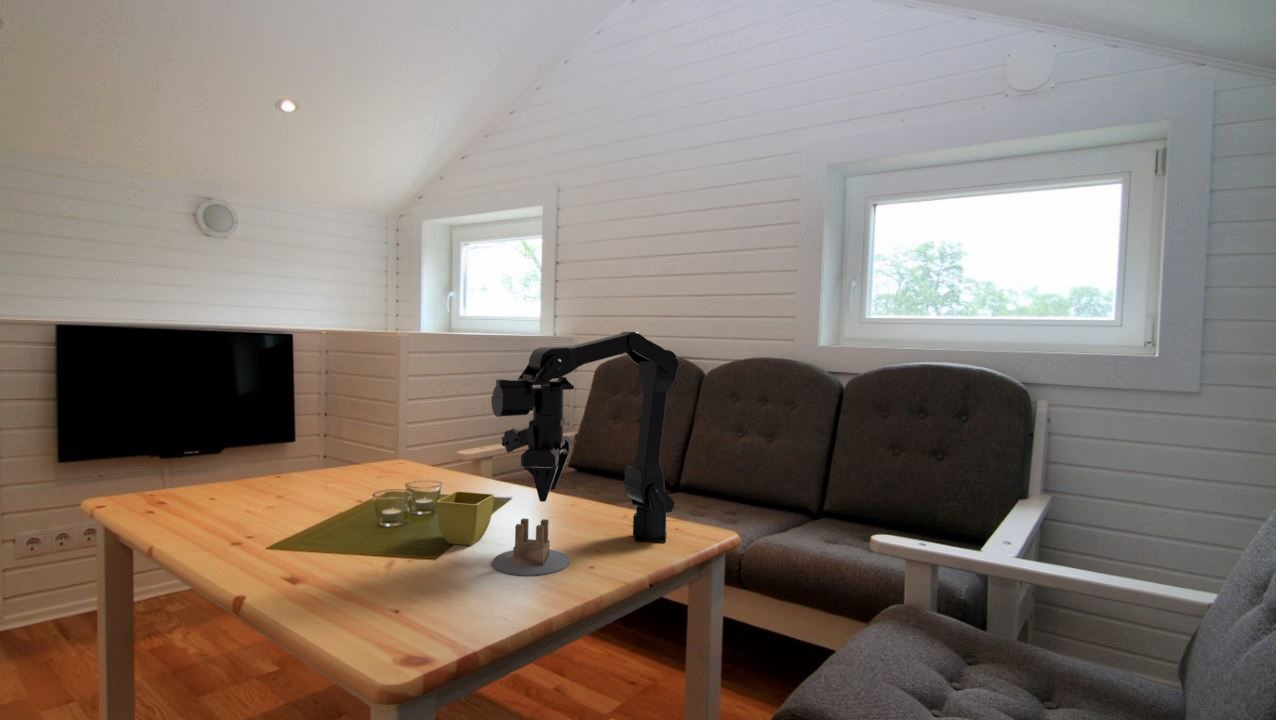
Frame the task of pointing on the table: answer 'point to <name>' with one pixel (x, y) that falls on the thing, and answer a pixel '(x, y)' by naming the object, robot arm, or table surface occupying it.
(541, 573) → the mat
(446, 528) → the flower pot
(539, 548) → the stool
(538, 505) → the table surface
